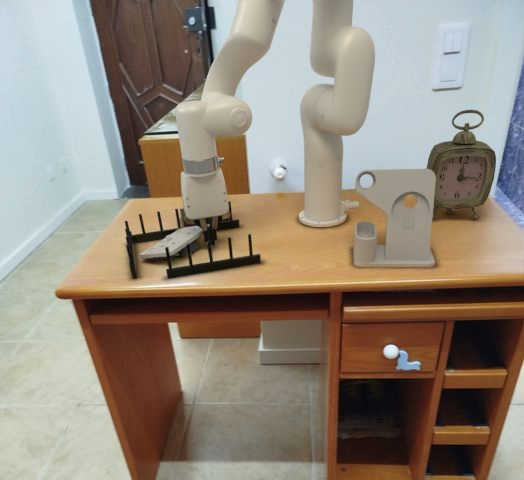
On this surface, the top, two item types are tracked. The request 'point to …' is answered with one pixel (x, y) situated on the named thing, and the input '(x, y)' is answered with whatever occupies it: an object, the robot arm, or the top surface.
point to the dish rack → (190, 268)
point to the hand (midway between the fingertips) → (211, 243)
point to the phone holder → (397, 219)
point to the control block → (194, 224)
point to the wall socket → (175, 243)
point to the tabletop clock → (462, 170)
